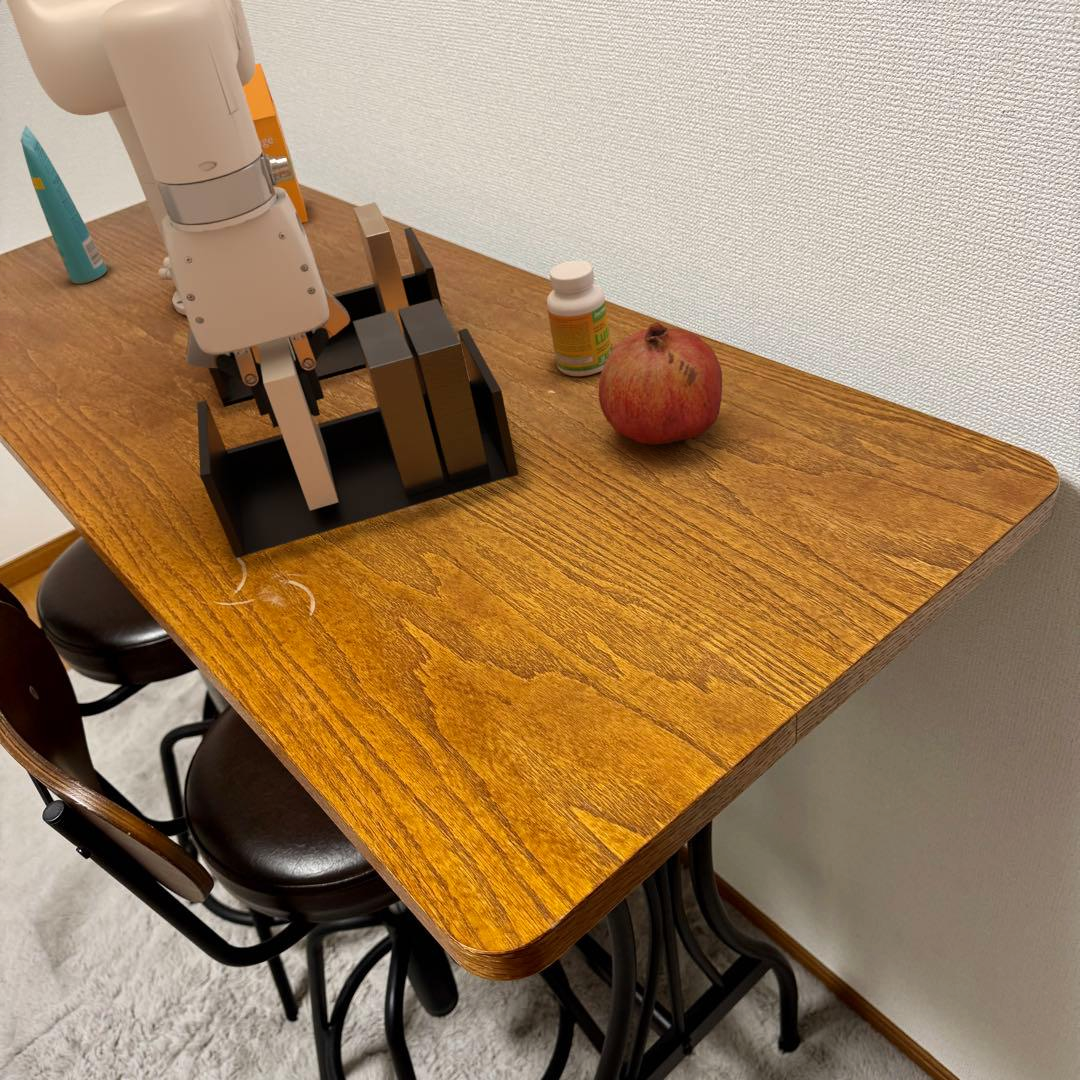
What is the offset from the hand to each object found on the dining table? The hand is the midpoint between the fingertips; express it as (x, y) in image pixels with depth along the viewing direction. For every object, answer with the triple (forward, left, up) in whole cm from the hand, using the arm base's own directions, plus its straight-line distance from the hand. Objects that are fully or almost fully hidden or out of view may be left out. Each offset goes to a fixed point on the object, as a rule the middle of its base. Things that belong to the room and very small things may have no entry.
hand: (294, 411), depth 84 cm
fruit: (+25, +15, -9) cm, 31 cm away
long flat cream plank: (0, 0, -7) cm, 7 cm away
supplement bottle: (+13, +25, -9) cm, 30 cm away
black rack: (+3, +2, -9) cm, 10 cm away
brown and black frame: (-15, +22, -9) cm, 28 cm away
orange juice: (-48, +55, -9) cm, 74 cm away
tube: (-65, +35, -9) cm, 74 cm away
